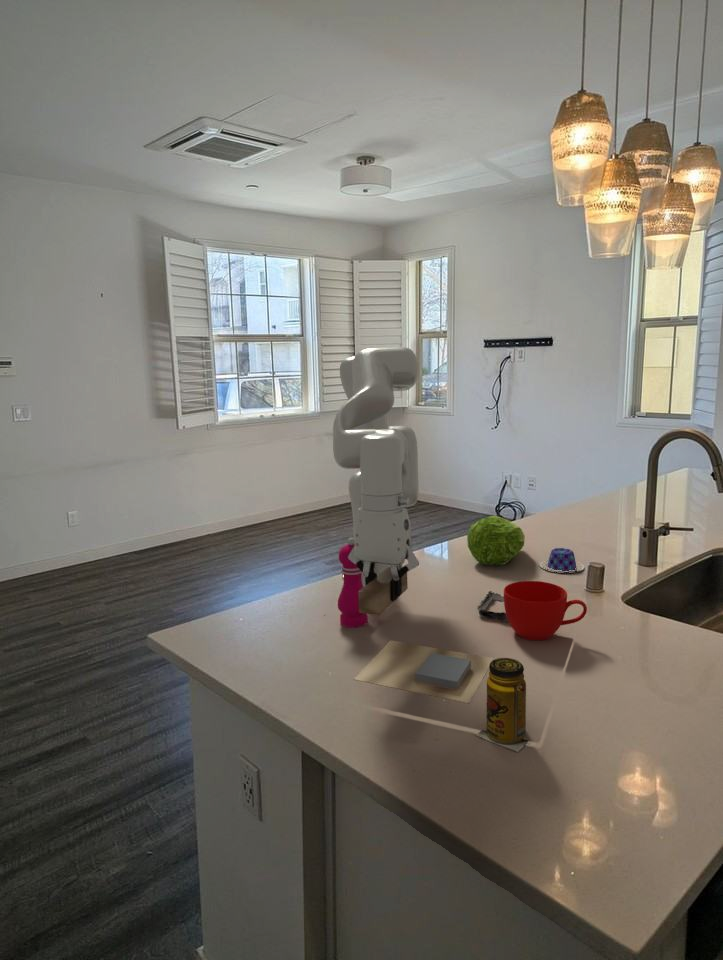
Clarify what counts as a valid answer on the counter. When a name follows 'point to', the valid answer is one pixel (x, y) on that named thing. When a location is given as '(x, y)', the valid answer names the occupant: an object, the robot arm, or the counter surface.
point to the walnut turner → (378, 593)
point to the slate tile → (443, 671)
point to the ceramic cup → (537, 608)
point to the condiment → (506, 704)
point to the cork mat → (405, 659)
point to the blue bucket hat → (562, 560)
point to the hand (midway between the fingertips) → (383, 596)
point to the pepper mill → (350, 590)
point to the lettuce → (495, 540)
